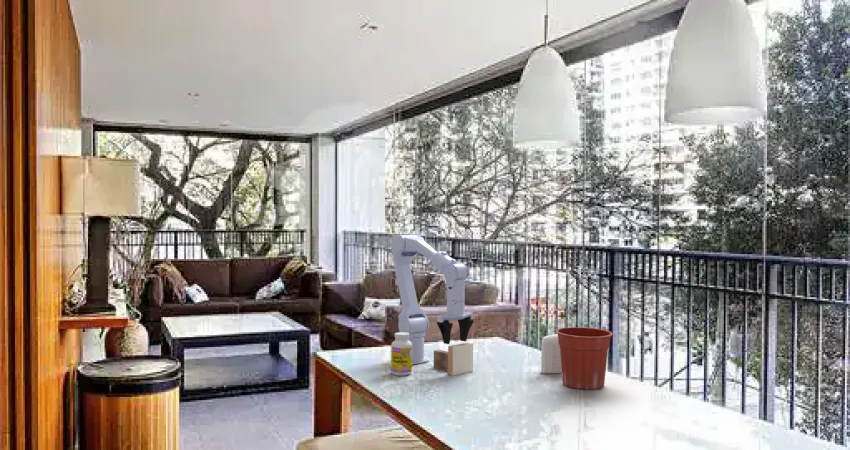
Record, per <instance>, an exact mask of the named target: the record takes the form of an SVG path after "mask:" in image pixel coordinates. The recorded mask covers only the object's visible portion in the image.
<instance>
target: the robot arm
mask: <svg viewBox="0 0 850 450" xmlns="http://www.w3.org/2000/svg"><path fill="white" fill-rule="evenodd" d="M424 239H425V238H424V237H422V236H421V235H419V234H417V233H415V234H396V235H394V236H393V239H392V240H391V242H390V247H391V252H392V257H393V259H392V260H393V266H394V271H395V276H396V280H397V281H396V282H397V286H398V290H399V291H398V292H399V295H400V301H401V306H402V310H401V312H400V313H399V314H398V315H397V316H398V317H397V318H398V324H397V325H398V326H397V327H398V331H399V332H406V333H409V341H410V342H411V343H412V365H417V364H422V363H427V362H430V360H429V359H426V358H425V336H426V334H427V332H428V330H429V328H430V322H429V319H428V317H427V314H426V312H425V310H424V309H423V308H421V307H420V306H419V303H418V299H417V297H418V296H417V292H416V289H415V282H414V279H413V274H412V273H413V272H412V268H411V265H410V263H411V261H412V260H413V259H414V258H415V257H416V256H417V255H418V254H421V255H422V256H424V257H425V258H427V259H428V260H430V263H431V265H432V267H434V268H435V269H436V270H437V271H438V272H440V273H442V274H443V277H444V279H445V285H446V313H443V314H440V315H437V316H436V325H437V327H438V329H439V332H440V333H441V339H442V342H443V344H445V345H450V343H451V333H452V328H453V326H454V323H452V321H457V322H458V327H459V340H460V341H462V342H467V339H468V335H469V333H470V329H471V327H472V326H473V324H474V321H475V320H474V312H473V311H465V303H466V302H465V294H466V293H465V289H466V288H465V287H466V286H465V285H466V280H467V279H468V278H469V274H470V270H469V268H468V265H467V264H466V263H464V262H458V261H457V260H456V259H455V258H452V257H450V256H449V255H448V252H447V251H437V250H435V249H434V248H433V247H432V246H431V245H430V244H429V243H427V242H426V241H425V240H424ZM450 321H451V322H450Z"/></svg>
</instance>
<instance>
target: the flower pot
mask: <svg viewBox="0 0 850 450" xmlns="http://www.w3.org/2000/svg"><path fill="white" fill-rule="evenodd" d="M555 334H558V342H559V345H560V354H561V366H562V373H561V377H562V380H561V381H562V384H563V385H564V386H566V387H567V388H570V389H577V390H582V389H586V390H589V391H592V390H601V389H602V388H605V381H606V371H607V364H608V363H607V362H608V353H609V348H610V345H611V337H612V336H613V332H612V331H609V330H606V329H602V328H594V327H582V326H579V327H578V326H574V327H573V326H570V327H560V328H557V329H556V330H555Z"/></svg>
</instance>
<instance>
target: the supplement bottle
mask: <svg viewBox="0 0 850 450" xmlns="http://www.w3.org/2000/svg"><path fill="white" fill-rule="evenodd" d="M394 339H395V340H394V341H392V342H391V346H390V349H391V350H390V373H391V374H392V375H394V376H400V377H404V376H409V375H411V374H412V371H413V364H412V343H411V342H410V341H409V333H406V332H400V331H399V332H395V333H394Z"/></svg>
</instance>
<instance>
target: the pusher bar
mask: <svg viewBox="0 0 850 450" xmlns="http://www.w3.org/2000/svg"><path fill="white" fill-rule="evenodd" d="M433 368H434V369H436V368H437V369H440V370H443V369H444V371H447V370H448V350H447V351H446V350H442V349H436V350H435V349H433Z"/></svg>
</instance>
